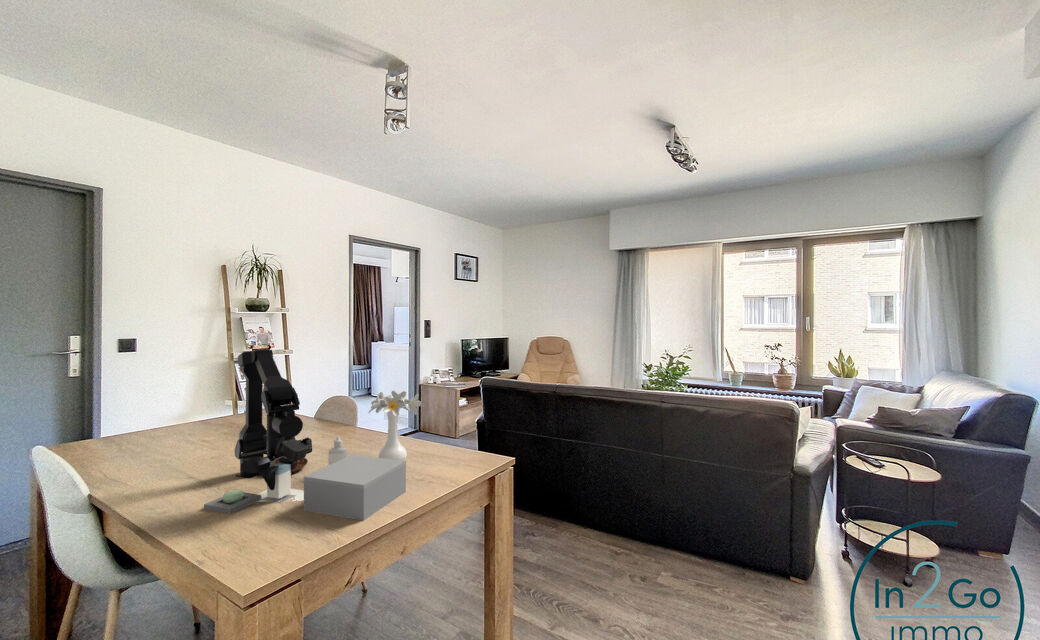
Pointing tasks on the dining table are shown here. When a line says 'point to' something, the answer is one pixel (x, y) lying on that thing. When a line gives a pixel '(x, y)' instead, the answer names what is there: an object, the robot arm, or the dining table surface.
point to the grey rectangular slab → (354, 486)
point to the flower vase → (394, 421)
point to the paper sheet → (294, 493)
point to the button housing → (226, 508)
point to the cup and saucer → (297, 464)
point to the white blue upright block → (281, 481)
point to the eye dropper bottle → (337, 452)
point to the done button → (233, 496)
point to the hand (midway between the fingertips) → (278, 486)
